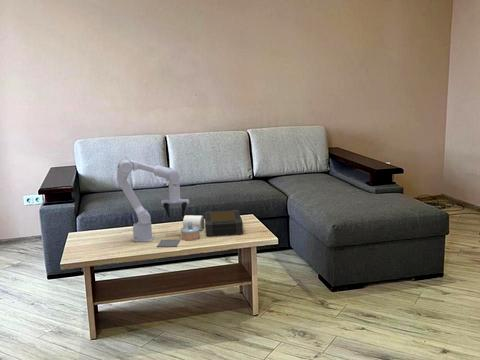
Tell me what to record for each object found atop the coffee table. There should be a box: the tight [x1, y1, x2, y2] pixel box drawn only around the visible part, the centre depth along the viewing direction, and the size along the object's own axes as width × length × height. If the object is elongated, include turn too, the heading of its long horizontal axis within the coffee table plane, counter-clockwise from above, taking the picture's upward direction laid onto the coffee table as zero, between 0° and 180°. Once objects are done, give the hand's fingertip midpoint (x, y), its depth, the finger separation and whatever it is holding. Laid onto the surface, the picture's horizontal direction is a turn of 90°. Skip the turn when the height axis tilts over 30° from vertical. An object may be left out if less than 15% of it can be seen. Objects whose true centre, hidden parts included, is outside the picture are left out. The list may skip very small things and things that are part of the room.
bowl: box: [180, 231, 200, 242], centre depth 265 cm, size 9×9×4 cm
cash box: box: [204, 209, 244, 238], centre depth 278 cm, size 25×20×8 cm
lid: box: [180, 222, 201, 233], centre depth 264 cm, size 10×10×4 cm
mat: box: [156, 238, 181, 248], centre depth 257 cm, size 10×10×1 cm
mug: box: [182, 214, 205, 231], centre depth 281 cm, size 12×10×8 cm
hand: (176, 216), depth 268 cm, fingers open, 7 cm apart
